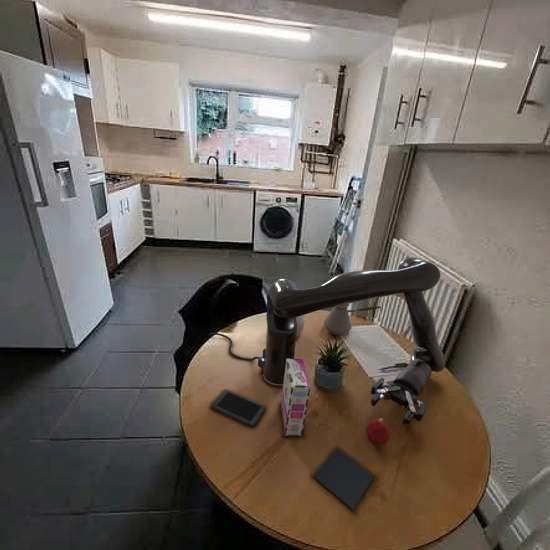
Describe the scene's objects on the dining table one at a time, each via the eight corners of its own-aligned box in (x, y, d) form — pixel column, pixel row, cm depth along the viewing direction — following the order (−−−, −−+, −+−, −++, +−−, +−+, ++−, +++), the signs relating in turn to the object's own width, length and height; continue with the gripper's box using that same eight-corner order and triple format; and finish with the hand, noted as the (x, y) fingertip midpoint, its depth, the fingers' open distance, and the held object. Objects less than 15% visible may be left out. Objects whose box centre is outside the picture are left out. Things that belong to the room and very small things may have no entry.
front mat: (313, 477, 71) (314, 476, 70) (336, 449, 78) (337, 448, 78) (353, 510, 65) (353, 509, 64) (373, 477, 72) (374, 476, 72)
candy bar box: (303, 436, 80) (311, 387, 74) (284, 436, 80) (290, 387, 74) (297, 403, 91) (303, 357, 84) (280, 403, 90) (285, 357, 84)
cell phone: (224, 390, 93) (224, 388, 93) (265, 408, 88) (266, 406, 88) (210, 407, 87) (210, 405, 87) (253, 427, 82) (253, 425, 81)
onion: (387, 455, 77) (395, 431, 74) (364, 449, 78) (370, 426, 75) (384, 435, 83) (391, 413, 80) (362, 430, 84) (368, 408, 80)
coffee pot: (320, 333, 126) (325, 301, 121) (325, 320, 136) (330, 290, 131) (374, 347, 121) (382, 313, 115) (375, 332, 131) (382, 300, 125)
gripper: (389, 361, 96) (366, 387, 84) (438, 385, 88) (419, 417, 76) (384, 380, 99) (361, 408, 87) (431, 405, 90) (411, 439, 79)
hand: (388, 412), depth 82 cm, fingers open, 8 cm apart
